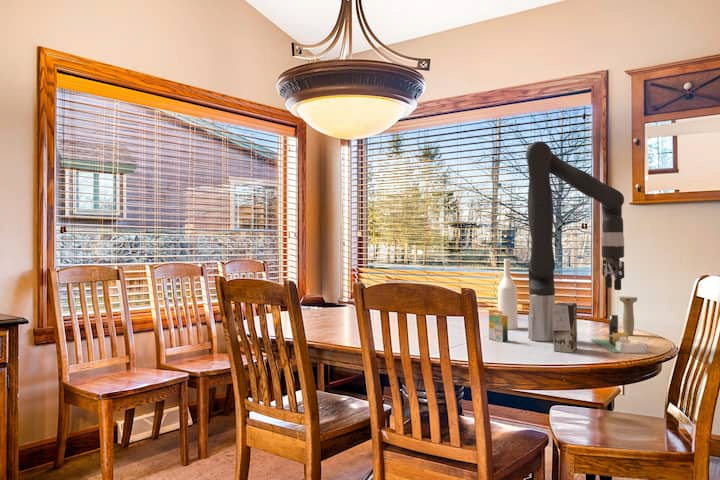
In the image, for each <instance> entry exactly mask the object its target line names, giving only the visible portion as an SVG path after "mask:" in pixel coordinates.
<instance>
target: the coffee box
mask: <svg viewBox="0 0 720 480" xmlns="http://www.w3.org/2000/svg"><path fill="white" fill-rule="evenodd" d="M577 305H578V304H577V302H557V303H556V302H555V304H554V305H553V330H554V341H553V351H554V352H561V353H568V354H569V353H570V354H571V353H574V352H575V351H576V350H577V349H578V331H577V330H578V323H577V322H578V317H577V316H578V315H577V313H578V310H577V308H578V307H577Z"/></svg>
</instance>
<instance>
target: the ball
mask: <svg viewBox="0 0 720 480" xmlns="http://www.w3.org/2000/svg"><path fill="white" fill-rule="evenodd" d="M618 342H621V343H623V344H631V343H630V339H629V337H628V338H627V337H620V338H619V340H618Z"/></svg>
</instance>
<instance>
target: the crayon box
mask: <svg viewBox="0 0 720 480" xmlns="http://www.w3.org/2000/svg"><path fill="white" fill-rule="evenodd" d="M498 313H499V314H498ZM508 331H509V330H508V316H505V315H502V311H498V310H495V309H488V340H491V341H496V342H500V343H506V342H509V340H508V339H509V333H508Z"/></svg>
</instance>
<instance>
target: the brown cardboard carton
mask: <svg viewBox="0 0 720 480" xmlns="http://www.w3.org/2000/svg"><path fill="white" fill-rule="evenodd" d="M608 340H609V344H611V345H615V344H613V339H612V336H609V335H608Z"/></svg>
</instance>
